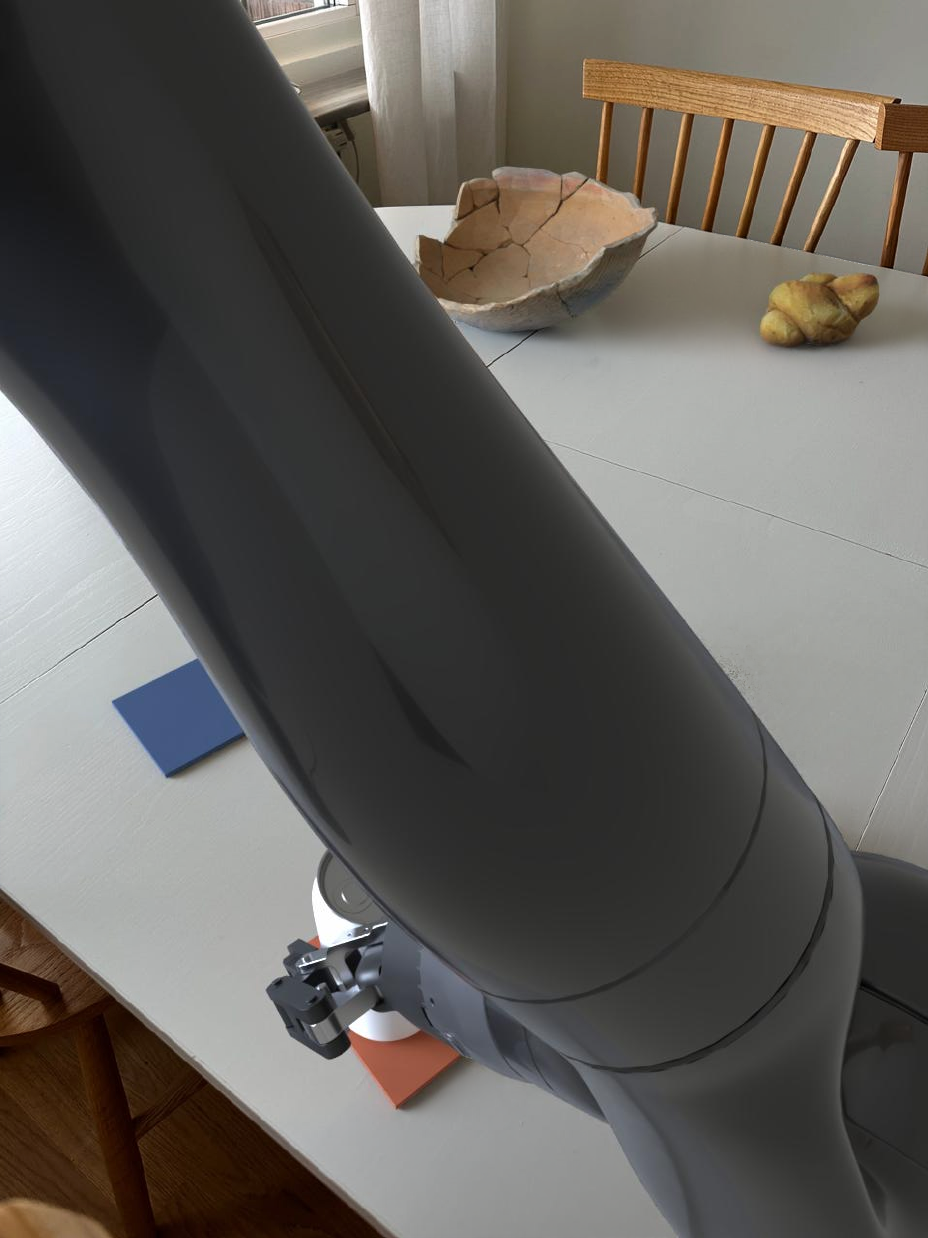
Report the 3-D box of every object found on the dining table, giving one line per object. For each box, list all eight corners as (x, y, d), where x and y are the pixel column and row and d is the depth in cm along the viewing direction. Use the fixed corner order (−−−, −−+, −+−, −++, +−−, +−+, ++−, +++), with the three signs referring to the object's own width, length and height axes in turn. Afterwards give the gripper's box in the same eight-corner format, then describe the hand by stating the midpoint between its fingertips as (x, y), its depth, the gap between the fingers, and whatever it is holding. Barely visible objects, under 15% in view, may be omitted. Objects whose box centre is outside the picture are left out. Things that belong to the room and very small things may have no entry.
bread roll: (775, 362, 110) (790, 294, 105) (734, 325, 117) (746, 259, 112) (874, 346, 113) (894, 278, 108) (828, 310, 120) (844, 245, 115)
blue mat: (166, 778, 68) (165, 775, 68) (112, 704, 73) (111, 700, 73) (312, 697, 73) (312, 694, 73) (252, 634, 79) (252, 630, 78)
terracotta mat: (396, 1110, 52) (396, 1107, 51) (287, 959, 58) (286, 956, 58) (550, 984, 57) (550, 981, 56) (434, 858, 63) (434, 855, 63)
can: (309, 995, 56) (279, 879, 48) (387, 917, 59) (372, 797, 51) (391, 1070, 53) (374, 959, 45) (468, 982, 56) (466, 865, 48)
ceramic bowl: (357, 295, 120) (366, 165, 112) (496, 265, 138) (512, 150, 130) (550, 380, 106) (577, 238, 97) (677, 334, 124) (709, 211, 115)
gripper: (599, 785, 41) (440, 784, 55) (311, 990, 35) (215, 929, 49) (677, 940, 42) (499, 899, 56) (407, 1170, 35) (285, 1057, 50)
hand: (367, 913), depth 52 cm, fingers open, 8 cm apart
